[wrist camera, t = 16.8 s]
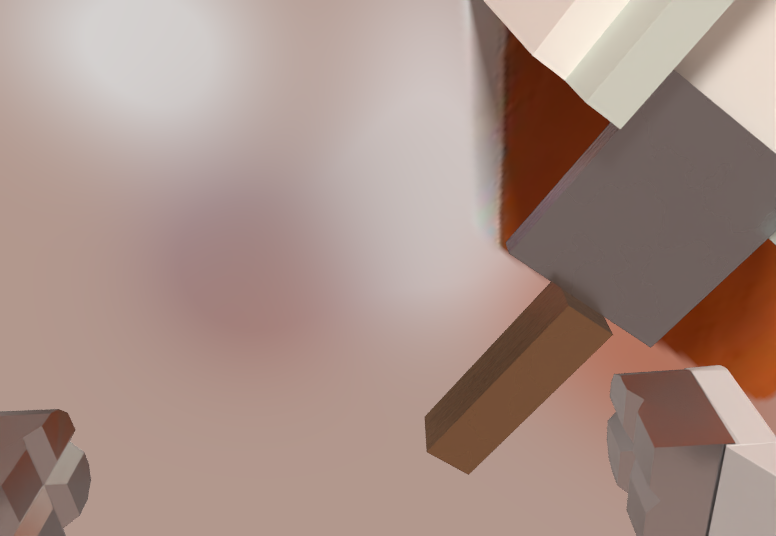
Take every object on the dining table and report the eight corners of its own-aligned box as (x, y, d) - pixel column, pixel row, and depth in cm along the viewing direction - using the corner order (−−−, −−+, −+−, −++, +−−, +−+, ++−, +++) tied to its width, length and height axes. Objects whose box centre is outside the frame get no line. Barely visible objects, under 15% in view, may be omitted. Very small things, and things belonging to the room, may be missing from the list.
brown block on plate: (662, 62, 25) (687, 77, 23) (806, 180, 27) (840, 204, 25) (377, 390, 32) (375, 424, 30) (507, 463, 34) (515, 499, 32)
